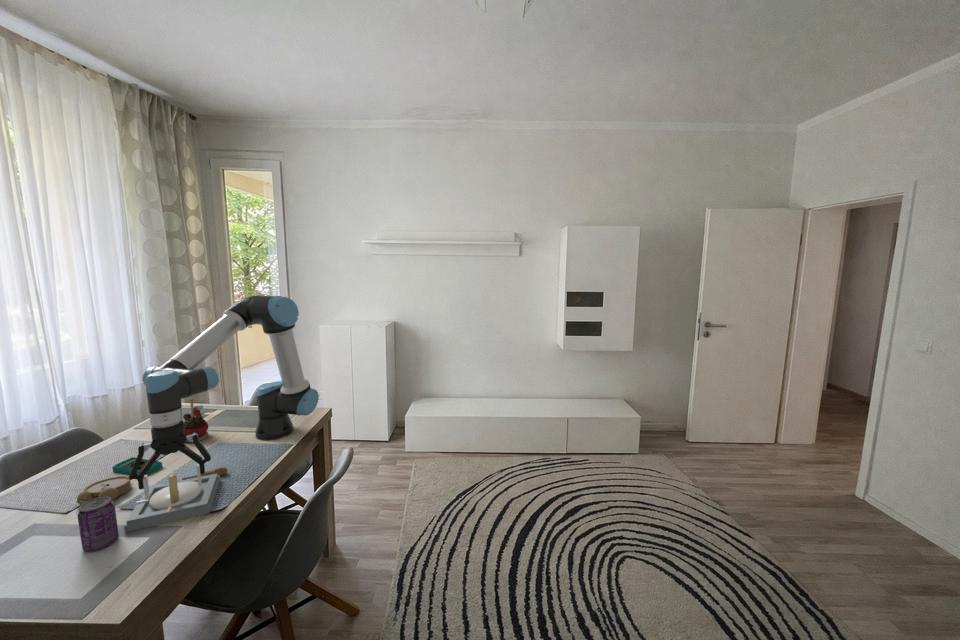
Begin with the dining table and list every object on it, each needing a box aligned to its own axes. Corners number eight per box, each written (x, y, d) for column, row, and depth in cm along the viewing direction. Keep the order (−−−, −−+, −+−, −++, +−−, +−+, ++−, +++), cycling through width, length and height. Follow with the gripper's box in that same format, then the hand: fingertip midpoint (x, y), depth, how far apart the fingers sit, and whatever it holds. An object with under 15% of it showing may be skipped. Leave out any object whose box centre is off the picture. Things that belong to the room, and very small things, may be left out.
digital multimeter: (143, 478, 136) (142, 470, 136) (112, 472, 140) (111, 465, 139) (164, 468, 143) (163, 460, 143) (134, 462, 147) (133, 455, 146)
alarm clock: (138, 473, 134) (111, 490, 119) (138, 488, 133) (111, 506, 119) (98, 478, 130) (65, 496, 116) (98, 493, 130) (65, 512, 116)
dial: (152, 493, 123) (149, 464, 122) (202, 481, 130) (199, 453, 129) (147, 515, 112) (143, 484, 111) (201, 500, 120) (198, 470, 118)
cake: (175, 441, 164) (171, 401, 162) (198, 432, 173) (194, 394, 170) (192, 445, 160) (188, 404, 158) (214, 436, 169) (210, 397, 166)
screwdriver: (228, 472, 140) (227, 465, 140) (227, 475, 138) (226, 468, 138) (183, 480, 135) (182, 473, 134) (181, 484, 132) (180, 477, 132)
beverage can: (99, 535, 107) (93, 496, 106) (126, 534, 108) (120, 495, 106) (74, 554, 100) (68, 512, 99) (103, 552, 101) (97, 511, 99)
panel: (220, 480, 135) (219, 471, 135) (209, 513, 117) (208, 503, 117) (147, 494, 126) (146, 485, 126) (124, 532, 108) (123, 521, 108)
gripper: (108, 438, 103) (118, 511, 106) (216, 418, 117) (222, 483, 120) (113, 428, 109) (122, 498, 112) (215, 410, 123) (221, 472, 126)
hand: (174, 490), depth 116 cm, fingers open, 12 cm apart
